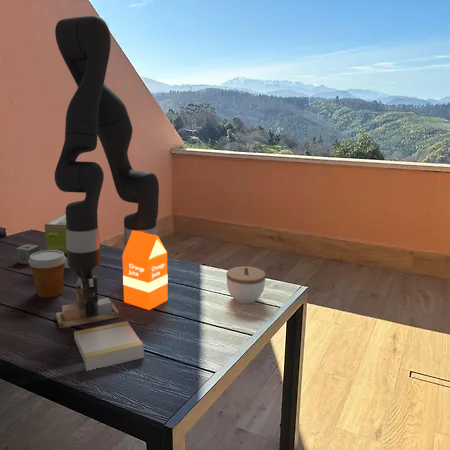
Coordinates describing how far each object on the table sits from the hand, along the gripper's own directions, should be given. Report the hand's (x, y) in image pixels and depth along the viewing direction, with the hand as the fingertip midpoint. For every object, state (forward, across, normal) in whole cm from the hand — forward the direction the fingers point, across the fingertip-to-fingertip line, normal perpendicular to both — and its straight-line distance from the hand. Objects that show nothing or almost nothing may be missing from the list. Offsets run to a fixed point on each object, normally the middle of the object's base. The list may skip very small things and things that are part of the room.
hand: (86, 309), depth 115 cm
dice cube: (+3, +51, +8) cm, 52 cm away
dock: (+3, -16, -1) cm, 16 cm away
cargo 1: (+2, 0, +4) cm, 4 cm away
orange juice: (+3, +3, -16) cm, 17 cm away
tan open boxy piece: (+4, 0, 0) cm, 4 cm away
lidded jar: (+3, -5, -42) cm, 42 cm away
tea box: (+3, +46, -5) cm, 46 cm away
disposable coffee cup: (+3, +19, +6) cm, 20 cm away
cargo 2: (+2, 0, -4) cm, 4 cm away
